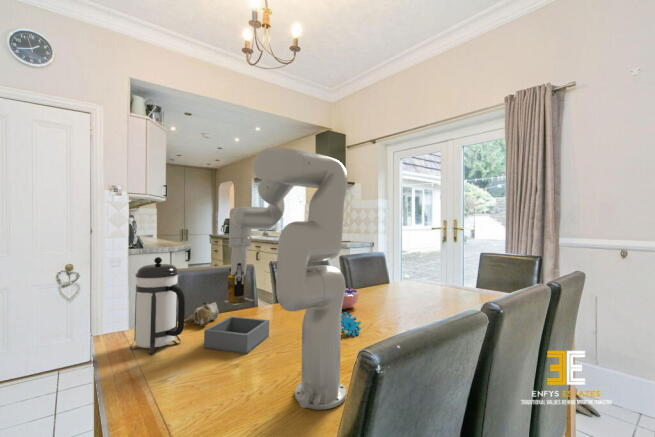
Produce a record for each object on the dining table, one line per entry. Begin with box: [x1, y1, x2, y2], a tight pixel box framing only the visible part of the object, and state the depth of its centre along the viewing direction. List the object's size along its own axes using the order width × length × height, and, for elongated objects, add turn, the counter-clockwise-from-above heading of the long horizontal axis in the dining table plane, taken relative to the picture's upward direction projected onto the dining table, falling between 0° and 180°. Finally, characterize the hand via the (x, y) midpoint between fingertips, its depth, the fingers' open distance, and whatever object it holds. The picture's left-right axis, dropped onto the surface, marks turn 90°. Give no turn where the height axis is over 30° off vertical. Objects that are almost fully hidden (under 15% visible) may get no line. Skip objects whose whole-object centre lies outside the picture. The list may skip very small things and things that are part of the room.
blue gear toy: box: [341, 312, 362, 338], centre depth 118 cm, size 11×6×10 cm
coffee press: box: [129, 256, 186, 356], centre depth 102 cm, size 17×16×30 cm
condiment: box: [223, 267, 255, 306], centre depth 108 cm, size 7×8×12 cm
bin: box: [203, 315, 270, 355], centre depth 107 cm, size 16×16×6 cm
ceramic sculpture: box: [184, 301, 220, 327], centre depth 127 cm, size 11×9×15 cm
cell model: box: [342, 286, 360, 310], centre depth 153 cm, size 17×20×11 cm
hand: (239, 293), depth 107 cm, fingers closed on condiment, 6 cm apart
